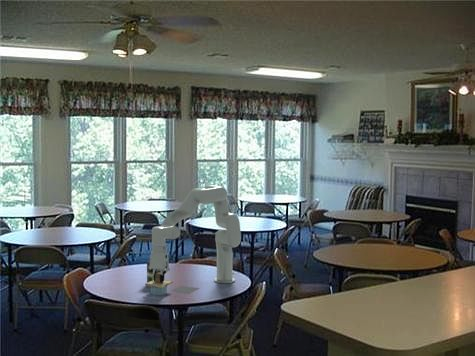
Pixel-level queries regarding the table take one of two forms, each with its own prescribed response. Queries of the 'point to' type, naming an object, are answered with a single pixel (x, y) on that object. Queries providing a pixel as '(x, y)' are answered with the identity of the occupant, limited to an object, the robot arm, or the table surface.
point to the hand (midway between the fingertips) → (159, 281)
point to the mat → (185, 289)
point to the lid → (158, 282)
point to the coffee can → (150, 273)
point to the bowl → (158, 290)
